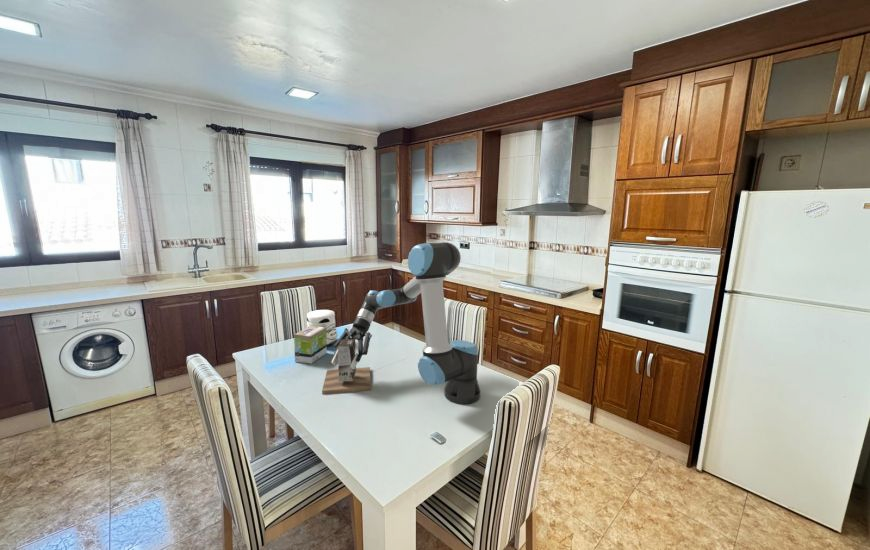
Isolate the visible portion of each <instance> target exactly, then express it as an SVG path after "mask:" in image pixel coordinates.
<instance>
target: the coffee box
mask: <svg viewBox="0 0 870 550" xmlns="http://www.w3.org/2000/svg"><path fill="white" fill-rule="evenodd" d="M355 355H356V339H341V341H340V343H339V345H338V361H337V365H338V366H337V367H338V370H339V381H353V379H354V376H355V373H356V368H357V366H356V367H355V369H352V368H351V367H350V366H351V364H352V361H353V359H354V357H355Z"/></svg>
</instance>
